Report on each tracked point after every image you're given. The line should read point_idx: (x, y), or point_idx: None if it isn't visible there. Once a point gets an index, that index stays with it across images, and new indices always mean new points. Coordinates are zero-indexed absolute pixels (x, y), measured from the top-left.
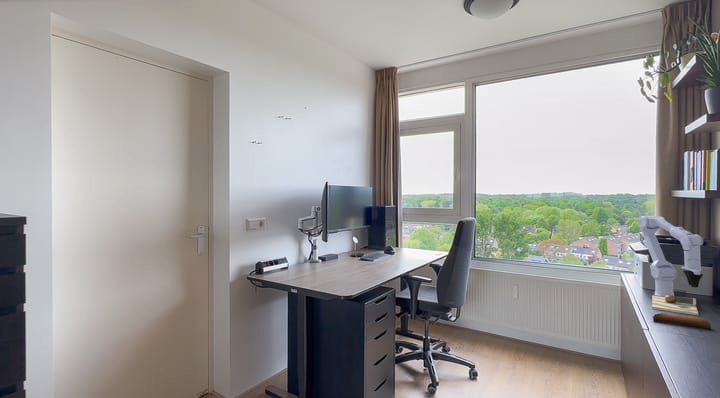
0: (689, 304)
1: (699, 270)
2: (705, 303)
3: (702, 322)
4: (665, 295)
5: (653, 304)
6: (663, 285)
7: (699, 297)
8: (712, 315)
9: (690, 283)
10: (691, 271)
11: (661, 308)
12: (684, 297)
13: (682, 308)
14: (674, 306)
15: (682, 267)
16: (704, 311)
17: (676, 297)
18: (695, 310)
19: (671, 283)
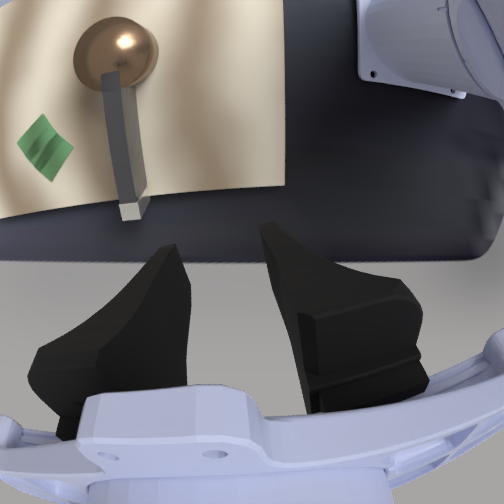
0: (144, 163)
1: (38, 496)
2: (314, 231)
3: None
4: (100, 22)
5: (7, 9)
6: (413, 8)
7: (440, 211)
8: (53, 258)
9: (162, 259)
10: (309, 407)
11: None
12: (123, 149)
13: (15, 146)
14: (27, 102)
15: (86, 445)
16: (99, 229)
17: (106, 96)
18: (25, 204)
19: (452, 75)
